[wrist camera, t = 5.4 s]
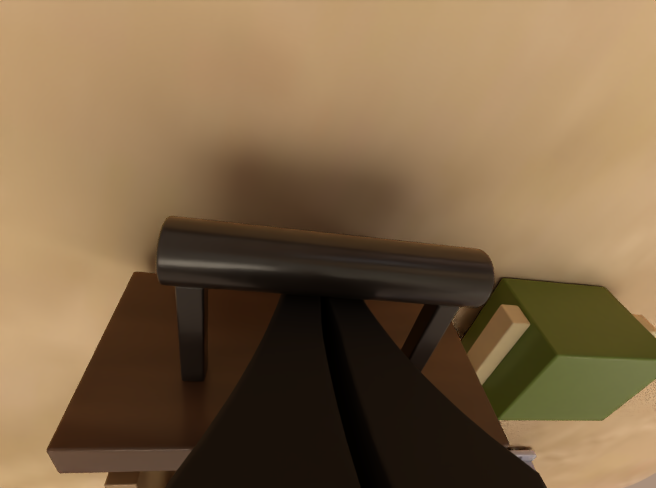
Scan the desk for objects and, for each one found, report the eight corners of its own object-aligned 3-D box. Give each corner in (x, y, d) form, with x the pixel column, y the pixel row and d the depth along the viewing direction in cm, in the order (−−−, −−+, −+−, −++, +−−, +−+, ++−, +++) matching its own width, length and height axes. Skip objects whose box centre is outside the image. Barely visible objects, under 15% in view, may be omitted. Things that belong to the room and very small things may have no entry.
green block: (619, 287, 17) (697, 361, 14) (563, 347, 19) (617, 421, 16) (485, 275, 15) (538, 354, 12) (445, 341, 18) (479, 421, 15)
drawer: (111, 130, 9) (-52, 285, 5) (496, 187, 12) (635, 329, 7) (160, 442, 20) (122, 587, 15) (361, 440, 22) (382, 566, 17)
